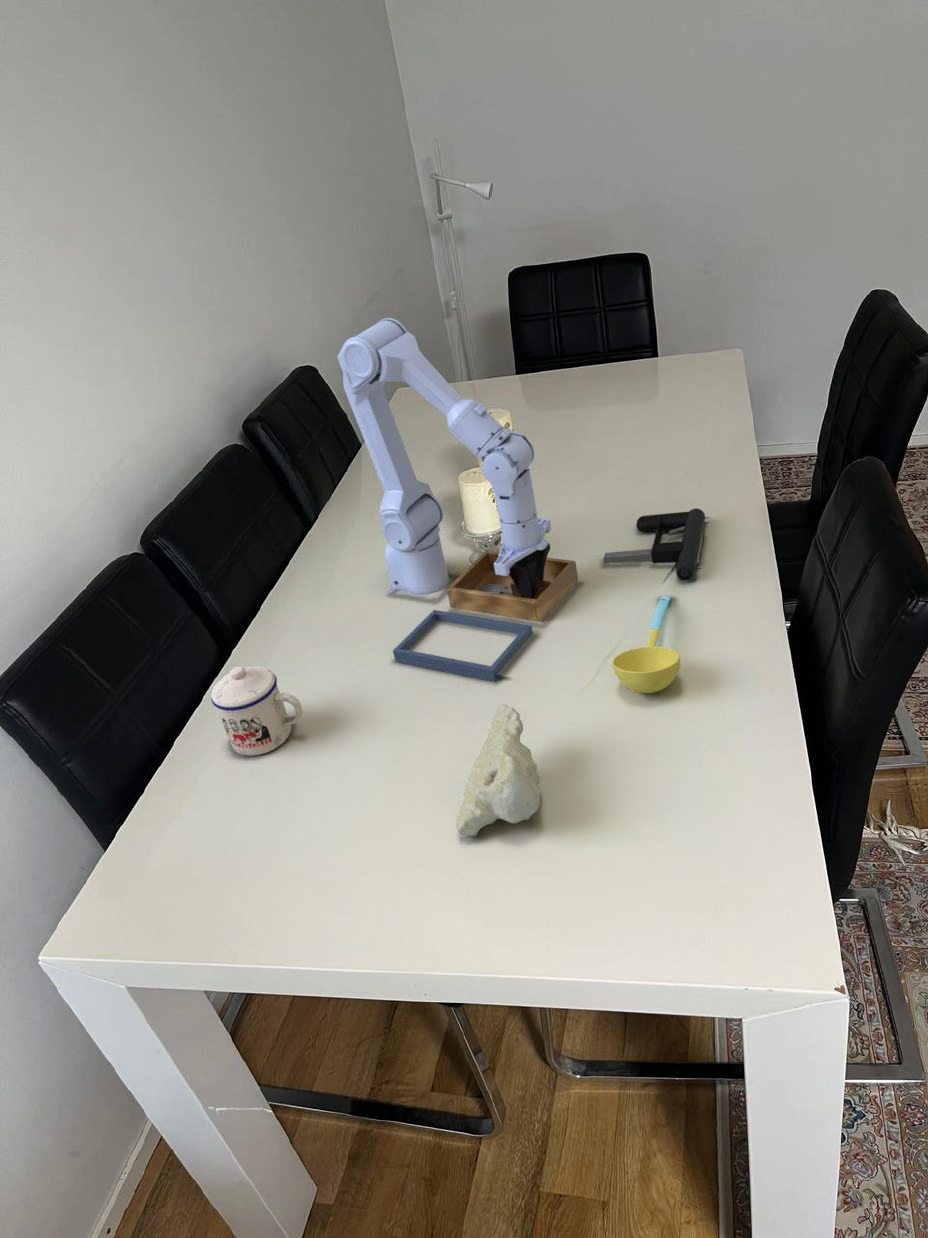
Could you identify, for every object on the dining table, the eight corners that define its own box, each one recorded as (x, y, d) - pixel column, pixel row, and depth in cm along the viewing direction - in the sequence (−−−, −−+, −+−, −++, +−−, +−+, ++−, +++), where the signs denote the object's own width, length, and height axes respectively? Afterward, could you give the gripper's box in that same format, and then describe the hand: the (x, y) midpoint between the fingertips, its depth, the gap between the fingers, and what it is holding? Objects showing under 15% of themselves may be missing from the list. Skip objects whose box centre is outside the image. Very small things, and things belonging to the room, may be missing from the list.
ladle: (610, 705, 127) (605, 664, 126) (641, 631, 151) (637, 595, 149) (679, 704, 124) (674, 662, 122) (699, 628, 148) (696, 592, 146)
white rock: (517, 875, 110) (588, 761, 109) (464, 848, 107) (535, 731, 107) (483, 824, 124) (545, 723, 124) (435, 799, 122) (497, 696, 122)
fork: (553, 594, 154) (550, 580, 152) (545, 603, 152) (543, 588, 151) (484, 584, 160) (482, 571, 159) (477, 592, 159) (474, 579, 157)
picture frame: (395, 661, 147) (392, 650, 146) (436, 620, 155) (433, 609, 154) (495, 682, 138) (492, 670, 137) (533, 637, 146) (531, 625, 145)
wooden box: (451, 611, 157) (446, 589, 154) (490, 572, 165) (486, 550, 163) (542, 626, 148) (538, 602, 146) (579, 584, 156) (575, 560, 154)
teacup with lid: (220, 758, 135) (192, 691, 129) (246, 716, 143) (220, 651, 137) (299, 758, 132) (274, 689, 126) (321, 715, 139) (299, 648, 133)
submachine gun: (596, 572, 154) (700, 564, 148) (616, 512, 169) (711, 503, 164) (600, 590, 155) (703, 583, 149) (619, 529, 171) (713, 521, 165)
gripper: (517, 540, 140) (532, 620, 147) (563, 495, 150) (574, 571, 157) (476, 536, 144) (492, 613, 151) (523, 491, 153) (536, 566, 160)
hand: (531, 592), depth 154 cm, fingers closed on fork, 2 cm apart
